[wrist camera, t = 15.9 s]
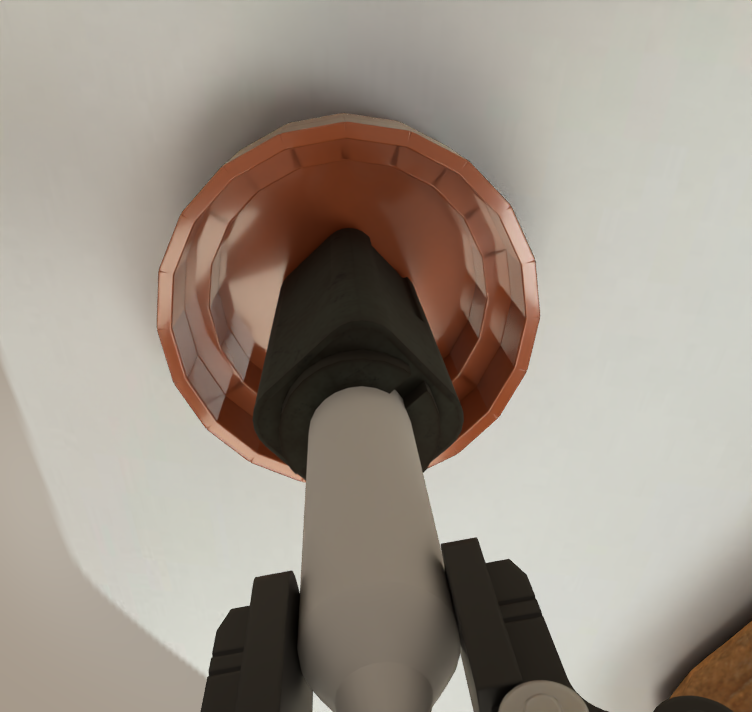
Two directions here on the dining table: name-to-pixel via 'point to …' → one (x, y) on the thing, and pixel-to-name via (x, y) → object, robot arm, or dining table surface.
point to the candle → (363, 476)
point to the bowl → (310, 229)
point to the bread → (724, 674)
